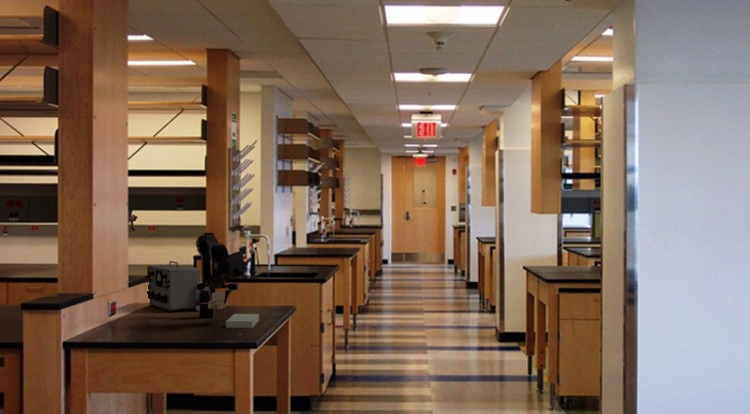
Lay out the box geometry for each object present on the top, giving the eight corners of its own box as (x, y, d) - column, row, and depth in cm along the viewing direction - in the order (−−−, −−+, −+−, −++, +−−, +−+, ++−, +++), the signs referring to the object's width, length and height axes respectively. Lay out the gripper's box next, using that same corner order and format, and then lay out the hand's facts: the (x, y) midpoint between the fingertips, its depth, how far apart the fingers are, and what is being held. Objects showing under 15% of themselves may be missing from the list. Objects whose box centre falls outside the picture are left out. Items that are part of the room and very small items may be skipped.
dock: (225, 327, 339) (226, 321, 339) (234, 320, 361) (234, 313, 361) (252, 327, 340) (252, 321, 340) (259, 320, 362) (259, 314, 362)
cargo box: (211, 301, 348) (211, 293, 348) (213, 299, 352) (213, 292, 352) (221, 301, 348) (221, 293, 348) (223, 300, 352) (223, 292, 352)
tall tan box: (208, 308, 345) (208, 302, 345) (212, 305, 356) (212, 299, 356) (222, 308, 345) (222, 302, 345) (226, 305, 356) (226, 299, 356)
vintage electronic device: (143, 306, 406) (143, 260, 406) (175, 303, 417) (175, 259, 417) (166, 313, 381) (166, 264, 380) (199, 310, 392) (199, 263, 391)
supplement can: (214, 310, 393) (215, 281, 393) (205, 312, 386) (205, 283, 385) (202, 309, 396) (202, 281, 396) (192, 311, 389) (192, 282, 389)
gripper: (193, 273, 342) (193, 307, 342) (234, 273, 342) (234, 307, 342) (199, 270, 353) (198, 303, 353) (238, 271, 353) (238, 304, 353)
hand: (217, 304), depth 350 cm, fingers closed on tall tan box, 6 cm apart
